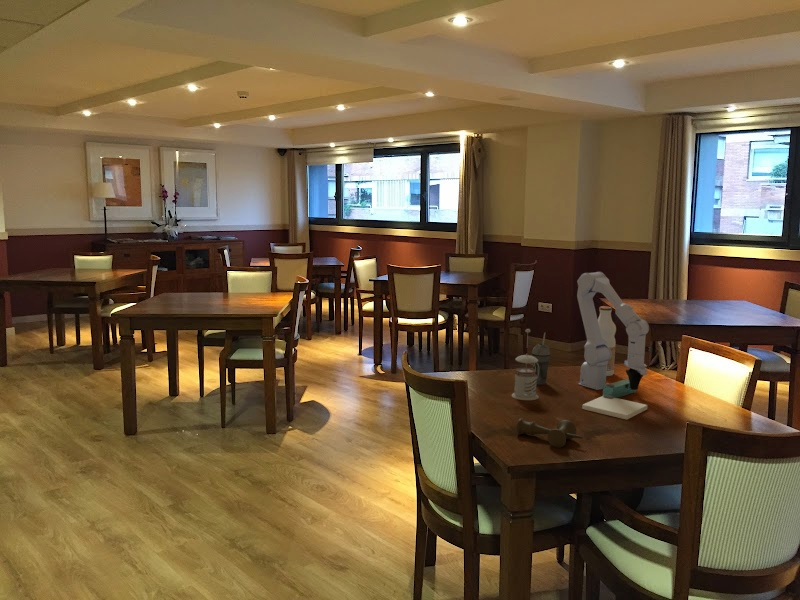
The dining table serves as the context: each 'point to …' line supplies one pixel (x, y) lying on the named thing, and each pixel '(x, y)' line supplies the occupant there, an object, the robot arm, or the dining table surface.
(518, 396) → the french press
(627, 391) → the dark green rectangular beam
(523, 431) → the kendama
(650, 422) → the dining table surface
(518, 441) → the dining table surface
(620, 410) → the stool seat
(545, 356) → the beverage cup
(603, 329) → the fruit juice
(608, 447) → the dining table surface
